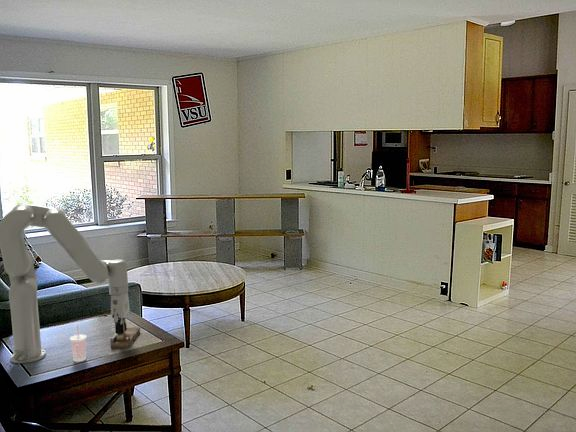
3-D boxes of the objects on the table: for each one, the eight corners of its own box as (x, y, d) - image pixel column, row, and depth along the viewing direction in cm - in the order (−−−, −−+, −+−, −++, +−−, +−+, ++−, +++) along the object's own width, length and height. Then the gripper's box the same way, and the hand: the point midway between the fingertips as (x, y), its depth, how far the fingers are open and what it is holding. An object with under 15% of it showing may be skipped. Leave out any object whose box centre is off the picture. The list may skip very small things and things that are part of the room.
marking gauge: (128, 340, 221) (127, 321, 220) (116, 340, 221) (115, 321, 220) (131, 336, 225) (130, 318, 224) (119, 336, 225) (118, 318, 224)
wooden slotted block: (127, 347, 218) (127, 338, 218) (110, 348, 218) (110, 338, 218) (139, 332, 236) (139, 323, 236) (124, 332, 236) (123, 323, 236)
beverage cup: (67, 360, 206) (65, 325, 204) (81, 354, 212) (78, 321, 210) (78, 363, 203) (75, 328, 201) (91, 358, 209) (89, 323, 206)
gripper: (121, 295, 212) (123, 339, 214) (133, 284, 228) (135, 325, 230) (102, 295, 212) (105, 339, 215) (116, 284, 228) (118, 325, 230)
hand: (120, 331), depth 222 cm, fingers closed on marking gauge, 2 cm apart
